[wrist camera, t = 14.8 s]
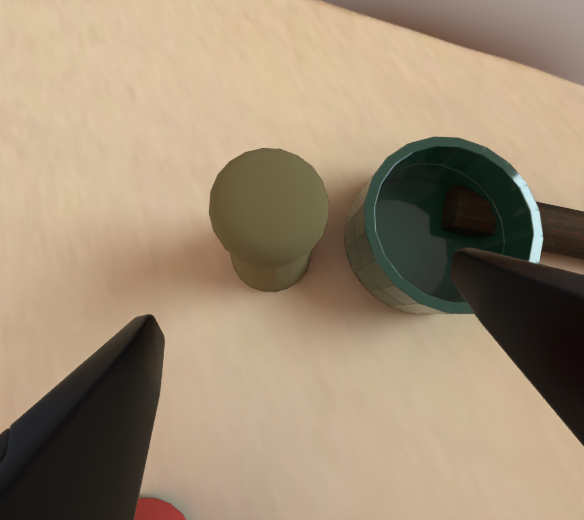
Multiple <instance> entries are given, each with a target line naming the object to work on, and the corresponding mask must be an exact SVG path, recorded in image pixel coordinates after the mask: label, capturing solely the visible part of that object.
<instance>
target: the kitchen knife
mask: <svg viewBox="0 0 584 520" xmlns="http://www.w3.org/2000/svg"><path fill="white" fill-rule="evenodd" d="M536 204H537V206H538V208H539V209H538V210H539V211H540V218H541V225H542V231H543V244H542V250H544V251H549V252H554V253H559V254H563V255H568V256H573V257H578V258H583V259H584V212H583V211H578V210H573V209H569V208H564V207H559V206H554V205H550V204H545V203H540V202H536ZM496 224H497V222H496V217H495V214H494V212H493V210H492V208H491V205H490V203H489V202H488V201H487V200H486V199H484V198H483V197H482V196H480V195H479V194H478V193H476V192H475V191H473V190H472V189H471V188H469V187H464V186H459V185H455V186H453V187H452V188H451V189H449V190H448V191H447V193H446V196H445V199H444V203H443V213H442V226H443V229H444V230H447V231H452V232H457V233H461V234H466V235H471V236H476V237H481V238H485V237H488V236H491V235H493V234H494V232H495V228H496Z"/></svg>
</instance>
